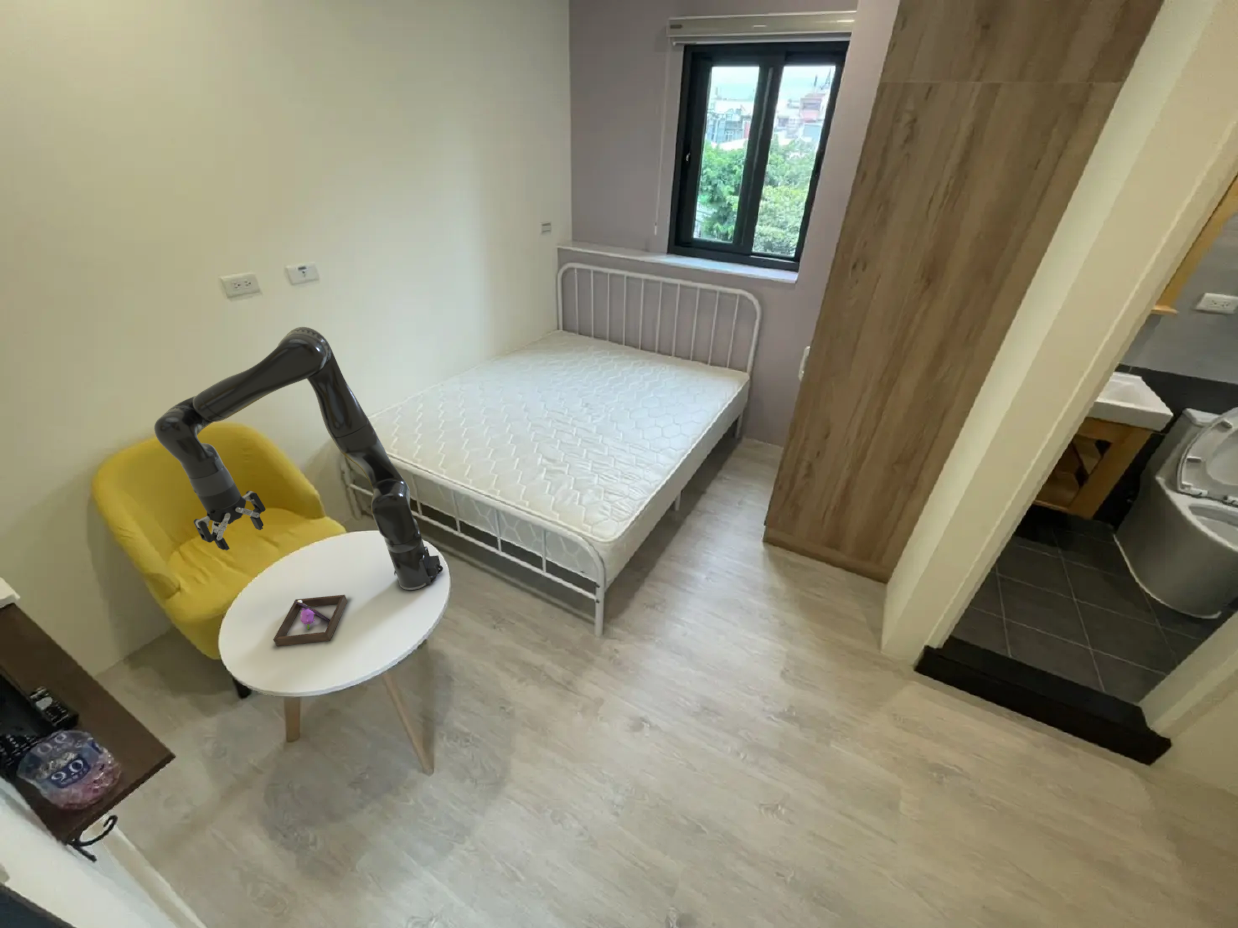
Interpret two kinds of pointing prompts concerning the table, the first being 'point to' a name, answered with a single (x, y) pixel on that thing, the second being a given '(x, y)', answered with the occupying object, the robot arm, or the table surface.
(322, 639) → the brown square frame
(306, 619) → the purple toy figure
